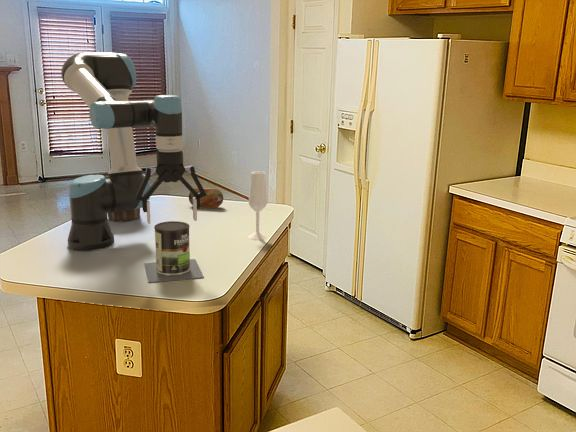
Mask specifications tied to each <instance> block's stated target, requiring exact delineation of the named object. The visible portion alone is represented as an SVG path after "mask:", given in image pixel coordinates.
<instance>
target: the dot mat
mask: <svg viewBox="0 0 576 432" xmlns="http://www.w3.org/2000/svg"><path fill="white" fill-rule="evenodd" d="M144 268H145V273H146V277H147V281H148V284H151V283H153V284H154V283H163V282H175V281H184V280H185V281H186V280H196V279H205V277H204V274H203V271H202V270H201V268H200V266H199V264H198V261H197V260H196V258H191V259H190V271H189V272H187V273H185V274H182V275H176V276H166V275H161V274H159V273H157V271H156V261H155V262H145V263H144Z"/></svg>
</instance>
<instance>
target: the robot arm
mask: <svg viewBox="0 0 576 432" xmlns="http://www.w3.org/2000/svg"><path fill="white" fill-rule="evenodd" d="M136 71H137V70H136V68H135V64H134V63H133V60H132V59H131V57H130V56H129V55H127V54H125V53H118V52H88V51H87V52H86V51H85V52H84V51H83V52H78V53H75V54H73V55H71V56H69V57H68V58H67V59H66V61H65V62H64V63H63V64H62V67H61V80H62V81H63V84H64V85H65V86H66V87H67V88H68V89H69V90H70V91H71V92H73V93H74V92H75V93H76V94H77V95H78V97H80V99H81V100H82V101H83V103H85V104H86V106H87V107H88V108H89V112H88V113H89V120H90V122H91V123H90V124H91V125H92V126H93V128H94V129H105V130H106V134H107V141H108V148H109V149H108V150H109V157H110V164H111V169H110V170H109V171H108V173H107V176H108V177H109V178H108V179H106V178H105V177H106V176H104V175H103V174H88V175H83V176H79V177H77V178H74V179H72V180H71V181H70V183H69V184H68V185H69V186H68V197H69V205H70V217H71V226H70V229H69V233H68V237H67V247H68V248H70V249H71V250H75V251H81V252H93V251H97V250H98V251H101V250H104V249H107V248H110V247H112V246H113V245H114V244H115V236H114V235H115V234H114V233H113V230H112V228H111V226H110V224H109V221H108V220H109V218H108V213H109V212H117V211H124V210H135V209H138V208H140V209H141V208H142V211H143V213H146V222H147V224H149V225H151V206H150V204H151V202H150V198H151V196H152V195H153V194H154V192H155V191H156V190H157V189H158V188H159V186H160V185H161V184H162V183H163V182H164V183H177V182H179V181H180V182H181V183H182V184H183V185H184V186H185V188H186V189H188V190H189V193H190V192H191V193H192V194H193V195H194V196H195V197H194V198H193V205H192V218H193V221H198V210H200V209H201V207H200V198H201V197H203V196H206V193H205V191H204V189H203V188H204V187H203V186H202V183H201V182H200V180H199V177H197V174H196V170H195V166H193V164H191V165H189V166H184V165H185V164H184V151H183V150H182V149H183V148H184V147H183V145H184V144H183V141H184V140H183V107H182V99H181V97H180V96H179V95H175V94H173V95H172V94H160V95H155V97H154V99H153V98H151V99H144V100H129V96H130V95H131V94H132V93H133V91H132V88H134V87H135V86H136V84H137V73H136ZM141 127H142V128H143V127H155V148H156V150H157V151H156V167H150V166H146V167H145V174H144V173H143V169H142V168H141V167H139V166H138V163H137V154H136V146H135V139H134V131H133V128H141ZM185 172H187V174H190V175H191V178H192V180H193V182H194V183H195V186H196V188H198V189H199V191H200V193H197V192H196V191H195V190H194V189H195V188H193V186H192V185H191V184H190V183H189V182H188V181H187V180H186V179H185V178H184V177H183V175H184V174H185ZM154 173H156V174H157V175H158V177H157V178H156V179H155V181H154V182H153V183H152V185H151V180H150V178H151V176H153V175H154Z"/></svg>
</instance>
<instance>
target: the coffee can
mask: <svg viewBox="0 0 576 432" xmlns="http://www.w3.org/2000/svg"><path fill="white" fill-rule="evenodd" d="M154 237H155V238H154V241H155V242H154V243H155V262H156V271H157V273H159V274H161V275H166V276H176V275H182V274H185V273H187V272H189V271H190V257H191V256H190V224H189V223H187V222H184V221H180V220H179V221H176V220H174V221H171V220H170V221H162V222H158V223H156V224H155V225H154Z"/></svg>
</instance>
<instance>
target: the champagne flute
mask: <svg viewBox="0 0 576 432" xmlns="http://www.w3.org/2000/svg"><path fill="white" fill-rule="evenodd" d="M250 174H251V175H250V183H249V184H250V185H249V192H248V193H249V195H248V204H249V206H250V208H251V209H252V210H254V212H255V232H253V233H252V234H249V235H248V239H250V240H253V241H262V240H265V239H267V235H265V234H263V233H261V232H260V212H261V211H262V210H264V209H265V208H266V206H267V205H268V198H267V197H268V195H267V185H266V184H267V182H266V172H265V171H258V170H257V171H251V173H250Z"/></svg>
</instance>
